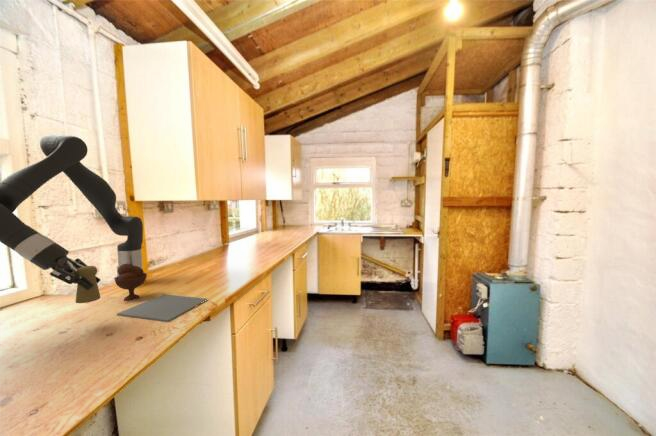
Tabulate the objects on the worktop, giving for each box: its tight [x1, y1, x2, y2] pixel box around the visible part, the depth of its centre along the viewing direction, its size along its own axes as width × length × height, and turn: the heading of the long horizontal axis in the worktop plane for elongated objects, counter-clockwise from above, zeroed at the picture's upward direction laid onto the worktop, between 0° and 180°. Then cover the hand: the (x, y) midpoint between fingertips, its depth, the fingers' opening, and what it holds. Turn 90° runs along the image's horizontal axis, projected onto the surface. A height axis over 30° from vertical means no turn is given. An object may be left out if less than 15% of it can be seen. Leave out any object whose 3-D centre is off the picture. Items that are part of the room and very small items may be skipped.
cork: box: [75, 265, 101, 304], centre depth 85 cm, size 6×6×11 cm
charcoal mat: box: [116, 293, 208, 323], centre depth 101 cm, size 22×20×1 cm
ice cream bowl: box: [113, 263, 148, 302], centre depth 109 cm, size 11×11×15 cm
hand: (94, 284), depth 86 cm, fingers closed on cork, 4 cm apart
